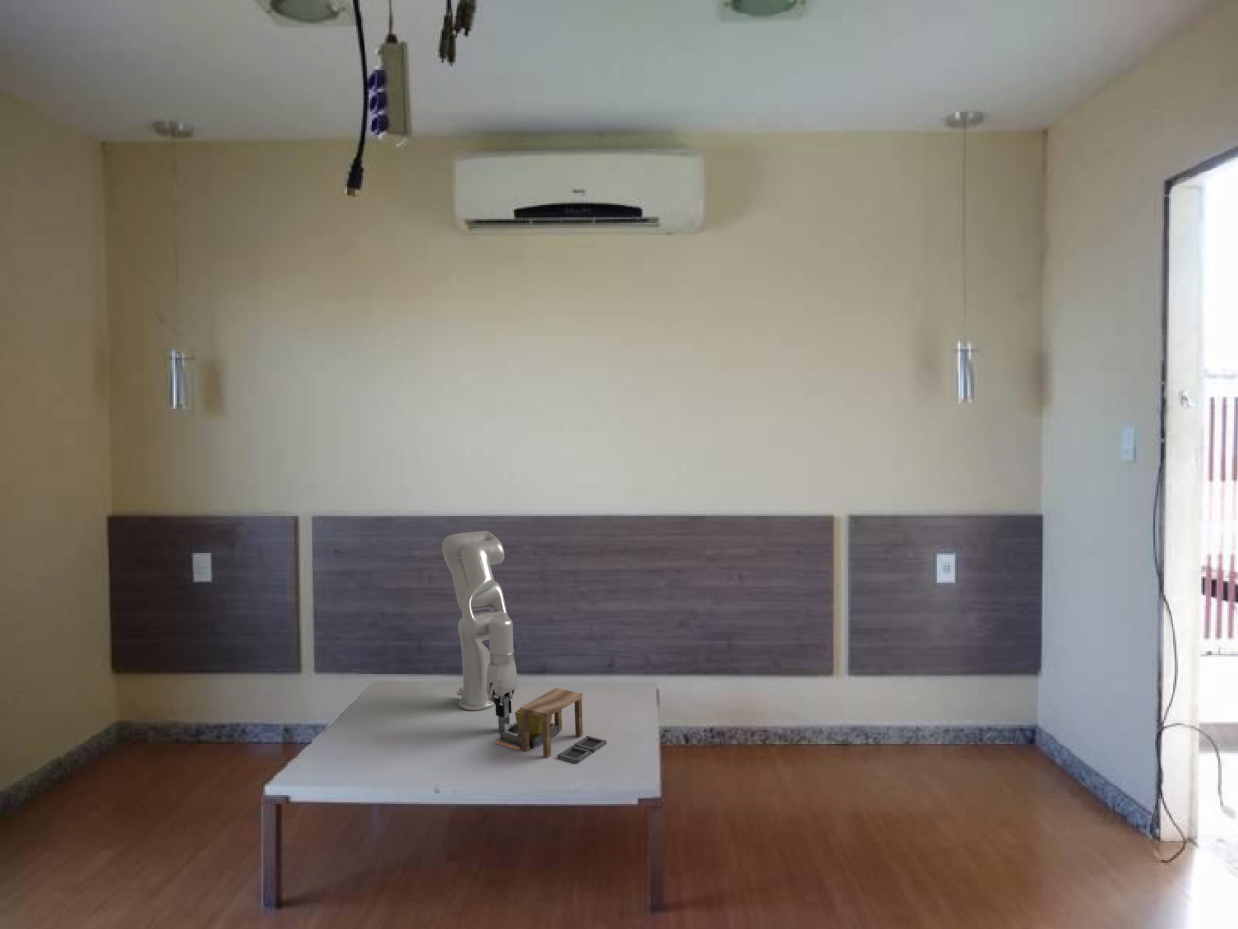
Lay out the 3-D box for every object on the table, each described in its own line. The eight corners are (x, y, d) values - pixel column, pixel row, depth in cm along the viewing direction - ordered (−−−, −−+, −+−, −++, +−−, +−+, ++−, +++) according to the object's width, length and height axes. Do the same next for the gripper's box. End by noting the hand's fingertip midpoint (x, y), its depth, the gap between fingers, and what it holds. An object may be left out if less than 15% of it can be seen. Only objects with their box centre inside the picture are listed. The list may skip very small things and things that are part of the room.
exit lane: (493, 742, 230) (493, 742, 230) (531, 721, 246) (531, 720, 246) (518, 750, 225) (518, 749, 225) (555, 728, 240) (555, 727, 240)
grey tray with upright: (487, 735, 235) (486, 703, 235) (514, 720, 246) (513, 690, 245) (533, 748, 225) (532, 714, 225) (559, 732, 236) (558, 700, 236)
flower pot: (539, 745, 228) (538, 715, 228) (515, 740, 232) (514, 711, 232) (554, 733, 236) (553, 705, 236) (530, 729, 240) (529, 701, 239)
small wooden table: (521, 750, 225) (519, 707, 224) (557, 728, 240) (556, 688, 239) (547, 758, 219) (546, 713, 218) (583, 735, 234) (582, 693, 233)
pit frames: (557, 758, 219) (557, 754, 219) (587, 738, 232) (587, 735, 232) (577, 763, 215) (577, 760, 215) (606, 743, 228) (606, 740, 228)
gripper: (509, 648, 247) (511, 703, 248) (475, 663, 234) (477, 721, 235) (527, 652, 243) (529, 707, 244) (493, 667, 230) (495, 726, 231)
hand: (503, 713), depth 240 cm, fingers closed on grey tray with upright, 2 cm apart
